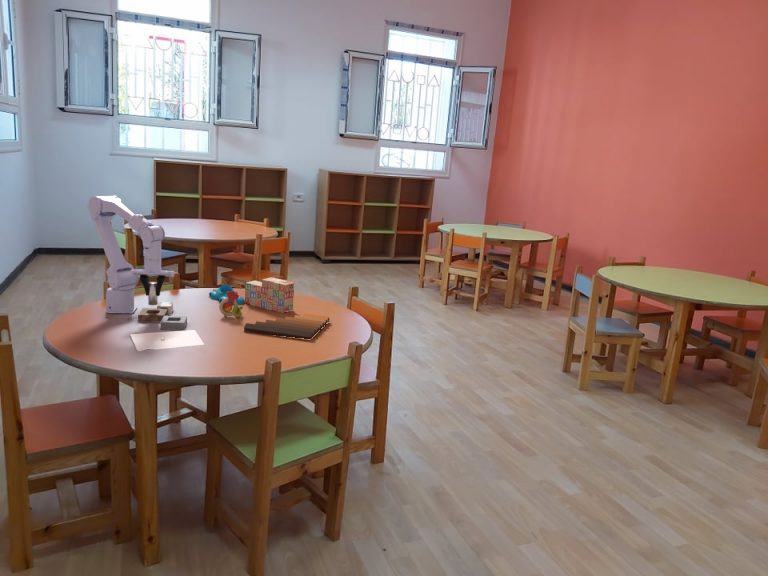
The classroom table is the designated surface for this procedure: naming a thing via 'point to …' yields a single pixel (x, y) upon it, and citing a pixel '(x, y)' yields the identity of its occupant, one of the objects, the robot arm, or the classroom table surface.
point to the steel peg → (152, 293)
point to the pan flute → (290, 326)
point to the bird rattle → (227, 307)
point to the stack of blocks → (270, 294)
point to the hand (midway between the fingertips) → (153, 295)
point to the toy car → (224, 294)
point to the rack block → (173, 322)
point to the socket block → (152, 314)
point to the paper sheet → (166, 339)
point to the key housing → (166, 306)
